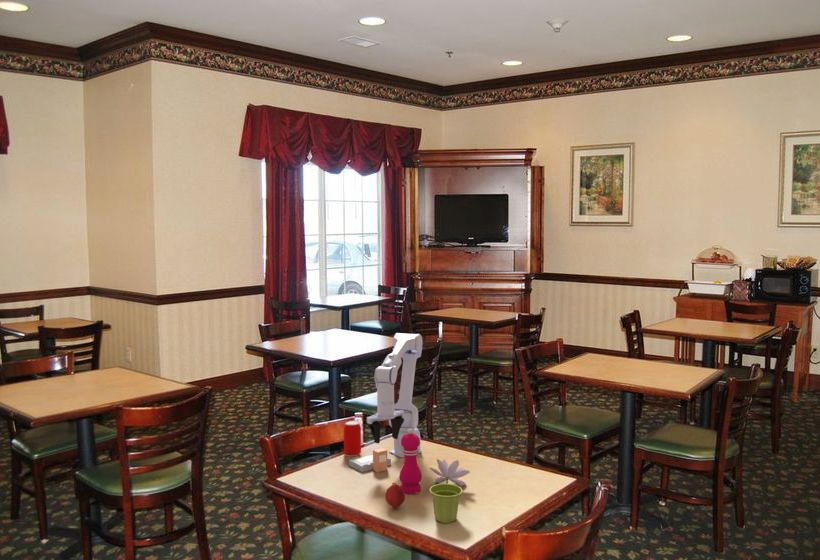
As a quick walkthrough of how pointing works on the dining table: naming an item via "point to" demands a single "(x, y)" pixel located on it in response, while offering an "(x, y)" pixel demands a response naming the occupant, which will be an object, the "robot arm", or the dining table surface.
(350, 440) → the beverage can
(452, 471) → the water lily
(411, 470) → the pepper mill
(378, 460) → the stub tab
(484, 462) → the dining table surface
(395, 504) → the onion
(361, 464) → the pad
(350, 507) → the dining table surface
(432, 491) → the plant pot
